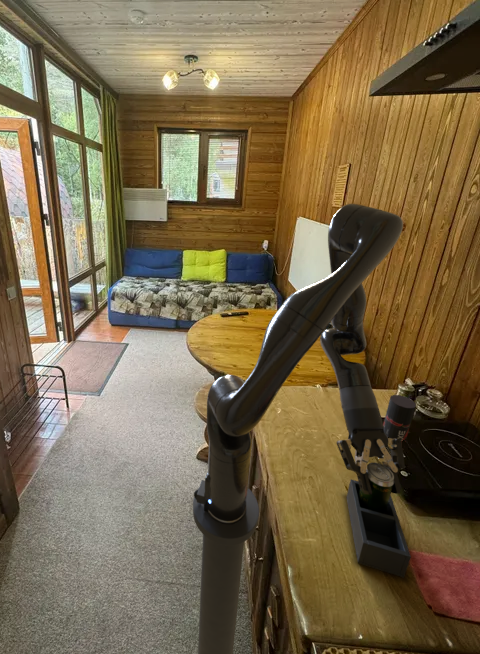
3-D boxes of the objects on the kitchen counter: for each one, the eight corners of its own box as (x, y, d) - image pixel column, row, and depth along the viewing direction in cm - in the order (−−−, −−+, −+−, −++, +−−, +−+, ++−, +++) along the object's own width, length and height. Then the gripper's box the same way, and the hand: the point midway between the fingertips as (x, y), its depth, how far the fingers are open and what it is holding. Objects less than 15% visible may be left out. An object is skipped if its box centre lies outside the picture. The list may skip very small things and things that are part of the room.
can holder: (357, 563, 59) (363, 542, 58) (346, 497, 73) (350, 479, 71) (403, 577, 57) (411, 557, 55) (383, 507, 71) (388, 488, 69)
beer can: (388, 519, 67) (400, 476, 63) (372, 530, 65) (384, 487, 61) (365, 498, 72) (375, 458, 68) (350, 508, 69) (360, 467, 65)
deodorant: (391, 454, 86) (403, 409, 81) (374, 439, 91) (385, 396, 86) (408, 451, 87) (421, 406, 82) (390, 436, 93) (402, 393, 88)
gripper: (337, 406, 68) (358, 497, 60) (400, 405, 68) (428, 494, 61) (322, 411, 74) (339, 493, 67) (380, 410, 75) (403, 490, 67)
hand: (381, 493), depth 64 cm, fingers closed on beer can, 5 cm apart
